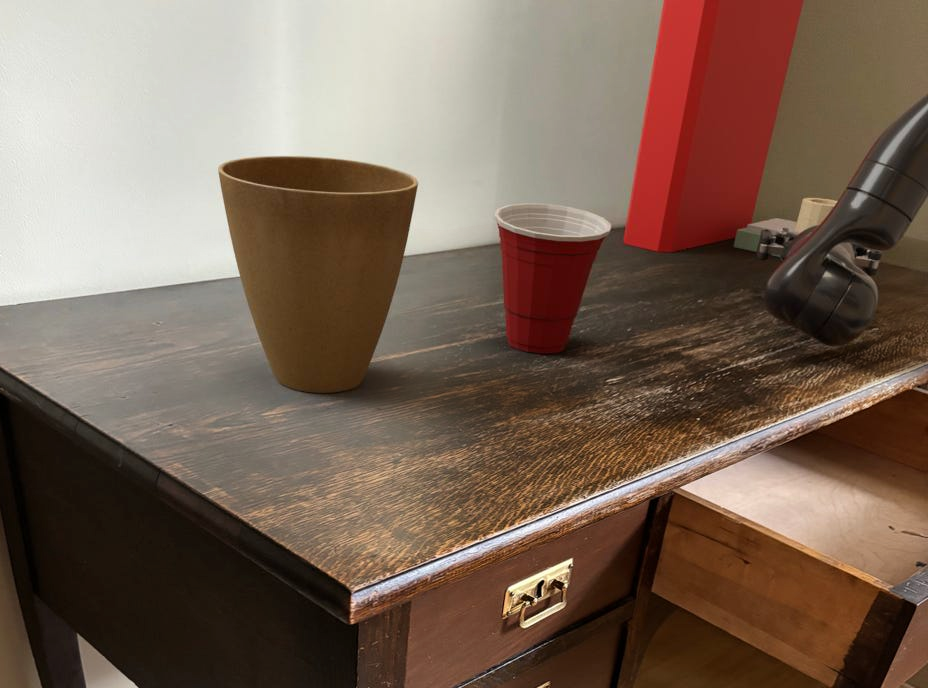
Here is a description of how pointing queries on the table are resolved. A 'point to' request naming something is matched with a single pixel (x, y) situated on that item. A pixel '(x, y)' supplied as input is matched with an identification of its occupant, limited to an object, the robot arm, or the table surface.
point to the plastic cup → (545, 270)
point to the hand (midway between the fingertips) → (817, 241)
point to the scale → (752, 233)
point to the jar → (813, 212)
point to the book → (708, 119)
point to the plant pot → (317, 260)
